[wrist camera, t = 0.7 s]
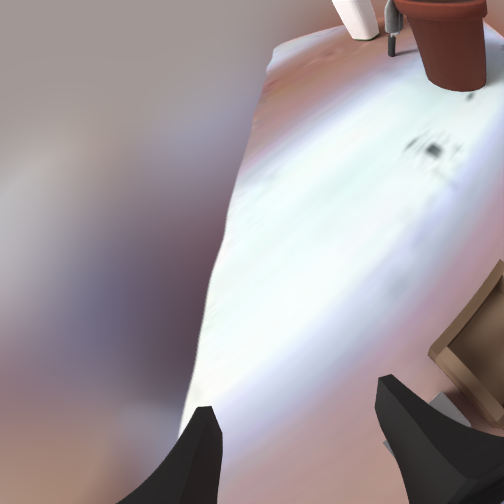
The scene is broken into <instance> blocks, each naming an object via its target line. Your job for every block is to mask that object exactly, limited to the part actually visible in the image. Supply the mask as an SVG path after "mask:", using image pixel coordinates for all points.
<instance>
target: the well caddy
mask: <svg viewBox="0 0 504 504" xmlns="http://www.w3.org/2000/svg"><path fill="white" fill-rule="evenodd" d="M428 356H429V357H430V358H431V359H432V360H433V361H434V362H435V363H436V364H437V365H438V366H439V367H440V369H441V370H442V371H443V372H444V373H445V374H446V375H447V376H448V377H449V378H450V379H451V381H452V382H453V383H454V384H455V385H456V386H457V387H458V388H459V389H460V391H461V392H462V393H463V394H464V395H465V396H466V397H467V398H468V400H469V401H470V402H471V403H472V404H473V405H474V406H475V408H476V409H477V410H478V411H479V412H480V413H481V414H482V416H483V417H484V418H485V419H486V420H487V422H488V423H489V424H490V425H491V426H492V427H493V428H498V429H504V262H503V261H502V260H501V259H500V260H499V261H498V263H497V264H496V266H495V267H494V269H493V270H492V272H491V273H490V275H489V276H488V277H487V279H486V280H485V282H484V283H483V284H482V286H481V287H480V288H479V290H478V291H477V292H476V294H475V295H474V296H473V298H472V299H471V300H470V301H469V303H468V304H467V305H466V306H465V308H464V309H463V310H462V311H461V313H460V314H459V315H458V316H457V317H456V319H455V320H454V321H453V322H452V323H451V324H450V326H449V327H448V328H447V329H446V330H445V331H444V332H443V334H442V335H441V336H440V337H439V338H438V339H437V340H436V341H435V342H434V343H433V344H432V345H431V347H430V349H429V352H428Z"/></svg>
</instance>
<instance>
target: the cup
mask: <svg viewBox="0 0 504 504" xmlns="http://www.w3.org/2000/svg"><path fill="white" fill-rule="evenodd" d="M332 2H333V4H334V6H335V8H336V10H337V11H338V13H339V15H340V17H341V19H342V21H343V22H344V24H345V26H346V28H347V29H348V31H349V33H350V34H351V36H352V38H353V39H356V40H371V39H373V38H374V37H375V36H377V35H378V34H379V29H378V24H377V20H376V17H375V13H374V10H373V7H372V4H371V2H370V0H332Z"/></svg>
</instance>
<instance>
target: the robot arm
mask: <svg viewBox="0 0 504 504" xmlns="http://www.w3.org/2000/svg"><path fill="white" fill-rule="evenodd" d="M375 411H376V414H377V417H378V420H379V423H380V426H381V429H382V431H383V433H384V435H385V437H386V439H387V441H388V444H389V446H390V448H391V450H392V452H393V454H394V456H395V459H396V461H397V463H398V465H399V468H400V471H401V474H402V477H403V481H404V484H405V488H406V492H407V495H408V499H409V504H504V437H500V436H495V435H491V434H488V433H484V432H481V431H478V430H476V429H473V428H470V427H468V426H465V425H463V424H461V423H459V422H457V421H455V420H453V419H451V418H449V417H448V416H446V415H444V414H443V413H441V412H439V411H438V410H436V409H435V408H433V407H432V406H430V405H429V404H428V403H426V402H425V401H424V400H422V399H421V398H420V397H418V396H417V395H416V394H415V393H413V392H412V391H411V390H410V389H408V388H407V387H406V386H405V385H404V384H403V383H401V382H400V381H399V380H398V379H397V378H396V377H394V376H393V375H392V374H390V375H386V376H383V377H379V378H378V387H377V395H376V402H375ZM222 454H223V438H222V431H221V429H220V427H219V424H218V422H217V419H216V417H215V414H214V411H213V409H212V406H205V407H197V408H196V410H195V412H194V414H193V415H192V417H191V419H190V421H189V423H188V425H187V426H186V428H185V430H184V431H183V433H182V435H181V436H180V438H179V439H178V441H177V443H176V444H175V446H174V447H173V449H172V450H171V451H170V453H169V454H168V455H167V457H166V458H165V459H164V461H163V462H162V463H161V464H160V465H159V467H158V468H157V469H156V470H155V471H154V472H153V473H152V474H151V475H150V476H149V477H148V479H146V480H145V481H144V482H143V483H142V484H141V485H140V486H139V487H138V488H137V489H135V490H134V491H133V492H131V493H130V494H129V495H128V496H126V497H125V498H124V499H122V500H121V501H119V502H118V503H116V504H217V495H218V486H219V479H220V471H221V463H222Z"/></svg>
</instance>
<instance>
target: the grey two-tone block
mask: <svg viewBox="0 0 504 504" xmlns="http://www.w3.org/2000/svg"><path fill="white" fill-rule="evenodd" d="M427 403H428V404H429V405H430V406H432V407H433V408H435V409H436V410H438V411H439V412H441V413H443V414H444V415H446V416H448V417H449V418H451V419H453V420H455V421H457V422H459V423H461V424H463V425H465V426H468V427H470V426H471V424H470V423H469V421H468V420H467V419H466V418H465V417H464V416H463V414H462V413H461V412H460V411H459V410H458V409H457V408H456V406H455V405H454V404H453V403H452V402H451V401H450V400H449V398H448V397H447V396H446V395H445V394H444V393H443V392H442V391H441V392H439V393H437V394H436V395H434V396H433V397H432V398H431V399H430V400H429V401H428V402H427ZM383 444H384V445H385V446H386V447H387V449H388V450H389V451H390V452H391V454H392V455H393V456H394V454H393V452H392V450H391V448H390V446H389V444H388V441H387V439H386V440H385V441H384V442H383ZM394 457H395V456H394Z"/></svg>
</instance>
